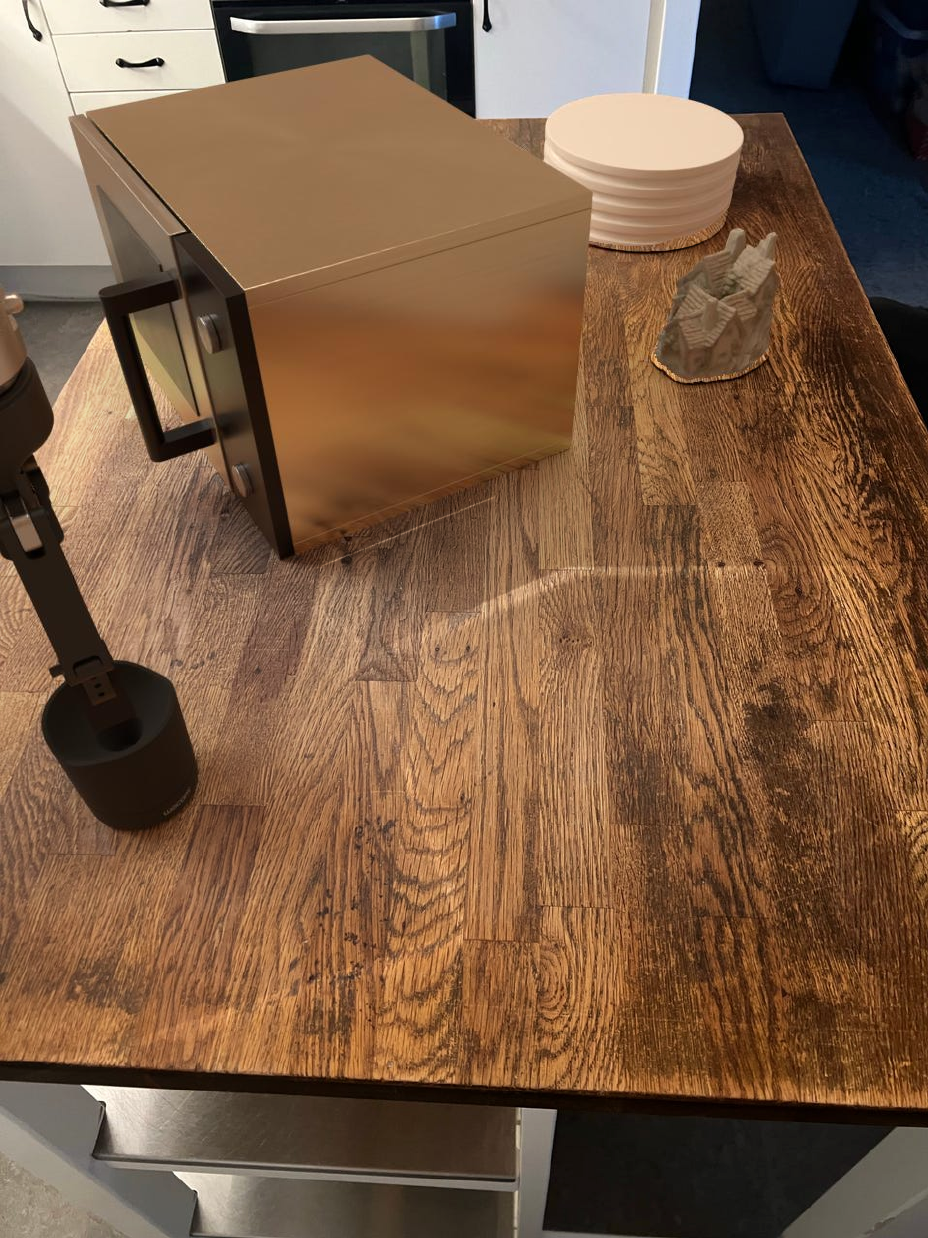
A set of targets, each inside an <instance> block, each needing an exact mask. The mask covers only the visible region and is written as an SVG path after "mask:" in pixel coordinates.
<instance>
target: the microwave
mask: <svg viewBox="0 0 928 1238" xmlns="http://www.w3.org/2000/svg"><path fill="white" fill-rule="evenodd" d="M85 117H86V118H87V119H88V120H89V121H90V122H91V123H92V125H93V126H94V127H95V128H96V129H97V130H98V131H99V132H100V134H101V135H102V136H103V137H104V138H105V139H106V140H107V142H108V143H109V144H110V145H111V146H112V147H113V148H114V149H115V151H116V152H117V153H118V154H119V155H120V156H121V157H122V159H123V160H124V161H125V162H126V163H127V164H128V165H129V166H130V168H131V169H132V170H133V171H134V172H135V173H136V174H137V176H138V177H139V178H140V179H141V180H142V181H143V182H144V183H145V185H146V186H147V187H148V188H149V189H150V190H151V191H152V193H153V194H154V195H155V196H156V197H157V198H158V199H159V200H160V202H161V203H162V204H163V205H164V206H165V207H166V208H167V210H168V211H169V212H170V213H171V214H172V215H173V216H174V217H175V219H176V220H177V221H178V222H179V223H180V224H181V225H182V226H183V228H184V229H185V230H186V231H187V234H184V235H180V236H176V237H174V242H175V246H176V251H177V255H178V259H179V263H180V267H181V271H182V275H183V280H184V284H185V288H186V292H187V296H188V300H189V305H190V309H191V313H192V317H193V321H194V325H195V329H196V334H197V338H198V342H199V346H200V350H201V354H202V359H203V363H204V367H205V371H206V375H207V379H208V383H209V388H210V392H211V396H212V400H213V404H214V408H215V412H216V417H217V421H218V425H219V429H220V433H221V437H222V442H223V446H224V450H225V454H226V458H227V462H228V466H229V471H230V475H231V479H232V483H233V487H234V491H233V492H234V494H235V495H236V497H237V499H238V500H239V502H240V503H241V504H242V506H243V507H244V508H245V510H246V512H247V513H248V514H249V516H250V518H251V520H252V521H253V522H254V524H255V525H256V526H257V528H258V529H259V531H260V533H261V534H262V535H263V537H264V539H265V540H266V541H267V543H268V544H269V546H270V547H271V549H272V550H273V552H274V553H275V555H276V556H277V557H278V559H279V560H280V561H281V560H284V559H287V558H289V557H292V556H294V555H295V556H297V555H300V554H302V553H305V552H307V551H310V550H312V549H315V548H317V547H320V546H322V545H325V544H328V543H329V542H333V541H336V540H338V539H341V538H343V537H346V536H348V535H351V534H353V533H355V532H358V531H362V530H364V529H366V528H369V527H371V526H374V525H377V524H379V523H381V522H384V521H387V520H389V519H391V518H395V517H397V516H399V515H402V514H405V513H407V512H409V511H412V510H414V509H417V508H419V507H422V506H425V505H428V504H430V503H433V502H436V501H438V500H440V499H443V498H445V497H448V496H450V495H453V494H456V493H458V492H461V491H464V490H466V489H469V488H471V487H474V486H476V485H479V484H482V483H485V482H488V481H490V480H493V479H495V478H498V477H500V476H503V475H505V474H508V473H511V472H513V471H516V470H519V469H521V468H523V467H526V466H529V465H531V464H533V463H536V462H539V461H541V460H544V459H547V458H549V457H551V455H552V456H554V455H556V453H557V452H560V451H562V450H565V449H567V448H570V447H571V448H572V442H573V434H574V422H575V409H576V399H577V385H578V374H579V363H580V353H581V352H580V351H581V342H582V341H581V339H582V328H583V319H584V318H583V315H584V305H585V293H586V292H585V291H586V281H587V270H588V269H587V268H588V259H589V258H588V257H589V246H590V245H589V236H590V224H591V212H592V198H593V191H591V190H589V189H588V188H586V187H585V186H583V185H581V184H580V183H578V182H576V181H575V180H573V179H572V178H570V177H568V176H567V175H565V174H563V173H562V172H560V171H558V170H557V169H555V168H554V167H552V166H550V165H549V164H547V163H545V162H544V160H543V159H541V158H539V157H537V156H535V155H534V154H532V153H531V152H529V151H527V150H526V149H525V148H524V147H523V148H524V149H525V150H524V149H523V148H521V147H519V146H518V145H516V144H514V143H513V142H511V141H509V140H508V139H506V138H505V137H506V136H505V137H504V136H502V134H500V133H497V132H496V131H495V130H493V129H491V128H490V127H488V126H487V125H486V124H484V123H483V122H480V121H478V120H477V119H475V118H473V117H472V116H470V115H469V114H467V113H465V112H464V111H462V110H460V109H459V108H457V107H455V106H454V105H452V104H451V103H449V102H447V101H446V100H444V99H443V98H441V97H439V96H438V95H436V94H435V93H433V92H431V91H430V90H428V89H426V88H424V87H423V86H421V85H420V84H418V83H416V82H415V81H413V80H411V79H409V78H408V77H406V75H404V74H401V73H400V72H399V71H397V70H395V69H393V68H392V67H391V66H389V65H387V64H385V63H384V62H382V61H380V60H379V59H377V58H375V56H373V55H371V54H369V53H368V54H363V55H358V56H357V55H356V56H353V57H348V58H343V59H338V60H334V61H328V62H323V63H319V64H313V65H309V66H308V65H307V66H304V67H299V68H294V69H289V70H283V71H279V72H274V73H270V74H265V75H264V74H263V75H260V76H255V77H250V78H249V77H248V78H244V79H239V80H235V81H229V82H224V83H220V84H215V85H209V86H205V87H200V88H196V89H195V88H194V89H190V90H185V91H180V92H175V93H170V94H166V95H161V96H155V97H151V98H146V99H141V100H136V101H131V102H127V103H126V102H125V103H121V104H116V105H111V106H107V107H101V108H96V109H91V110H87V111H85ZM571 448H570V449H571ZM567 450H568V449H567ZM565 451H566V450H565ZM562 452H563V451H562ZM560 453H561V452H560ZM557 454H558V453H557Z"/></svg>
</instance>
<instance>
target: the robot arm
mask: <svg viewBox="0 0 928 1238" xmlns="http://www.w3.org/2000/svg"><path fill="white" fill-rule="evenodd" d="M24 307H25V304H24V300H23V298H22V296H20V295H19V293H18V292H16V291H10V292H6V293H5V290H4V286H3V285H2V283H1V282H0V555H1V557H2V558H3V559H5V560H6V561H9V562H12V564H13V566H14V568H15V571H16V573H17V575H18V577H19V579H20V581H21V583H22V585H23V587H24V590H25V592H26V594H27V596H28V598H29V600H30V602H31V604H32V606H33V609H34V610H35V613H36V616H37V617H38V619H39V621H40V624H41V625H42V628H43V630H44V632H45V634H46V636H47V638H48V640H49V642H50V645H51V647H52V649H53V650H54V653H55V656H56V658H57V663H56V664H54V665H52V666H49V667H48V672H49V674H50V676H51V678H52V679H55V678H57V677H60V676H63V679H64V681H66V682H68V684H69V685H70V686H71V688H72V690H73V692H74V694H75V696H76V698H77V700H78V702H79V704H80V706H81V708H82V710H83V712H84V714H85V716H86V717H87V719H88V721H89V723H90V725H91V727H92V729H93V731H94V733H97V732H100V731H102V730H104V729H107V728H109V727H111V726H114V725H116V724H118V723H121V722H123V721H125V720H127V719H130V718H132V717H134V716H137V714H136V712H135V710H134V707H133V705H132V703H131V701H130V698H129V696H128V694H127V691H126V689H125V687H124V685H123V682H122V680H121V678H120V676H119V673H118V671H117V669H116V666H115V664H114V660H115V659H114V658H113V655H112V653H110V651H109V647H108V646H107V643H106V641H105V639H104V638H102V637H101V636H100V633H99V631H98V628H97V627H96V623H95V622H94V620H93V617H92V615H91V612H90V610H89V609H88V606H87V604H86V601H85V599H84V597H83V594H82V592H81V590H80V587H79V585H78V582H77V580H76V578H75V575H74V573H73V571H72V569H71V566H70V564H69V562H68V560H67V557H66V555H65V553H64V551H63V549H62V546H61V544H62V543H63V542H64V540H65V533H64V531H63V528H62V526H61V523H60V521H59V519H58V517H57V514H56V512H55V510H54V508H53V505H52V504H53V502H52V501H51V497H50V495H51V490H50V487H49V485H48V482H47V480H46V478H45V475H44V474H43V471H42V469H41V467H40V465H39V464H38V462H37V460H36V458H35V455H34V453H36V452H37V451H39V449H40V448H42V446H43V445H44V444H45V443H46V442H47V441H48V439H49V438H50V436H51V435H52V431H53V429H54V425H55V414H54V410H53V407H52V405H51V403H50V400H49V397H48V395H47V392H46V390H45V387H44V385H43V381H42V379H41V377H40V375H39V373H38V370H37V367H36V365H35V363H34V361H33V360H32V359H31V358H30V357H29V356H28V348H27V345H26V342H25V340H24V338H23V335H22V333H21V330H20V327H19V324H18V322H17V320H16V318H15V317H14V316H13V314H17V313H20V312H21V311H23V310H24Z"/></svg>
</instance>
